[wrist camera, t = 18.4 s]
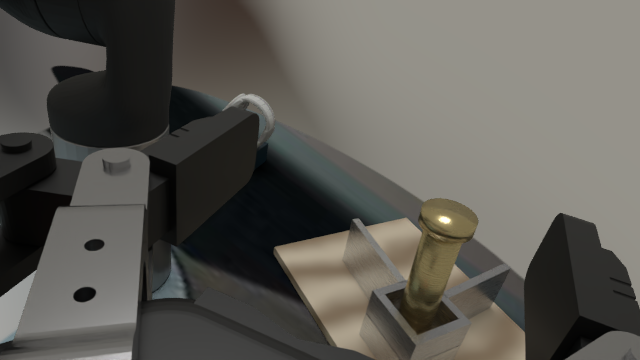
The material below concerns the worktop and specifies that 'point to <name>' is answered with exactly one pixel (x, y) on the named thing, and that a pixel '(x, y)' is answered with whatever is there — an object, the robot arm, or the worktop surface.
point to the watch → (243, 102)
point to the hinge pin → (435, 259)
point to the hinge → (386, 294)
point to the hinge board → (351, 303)
